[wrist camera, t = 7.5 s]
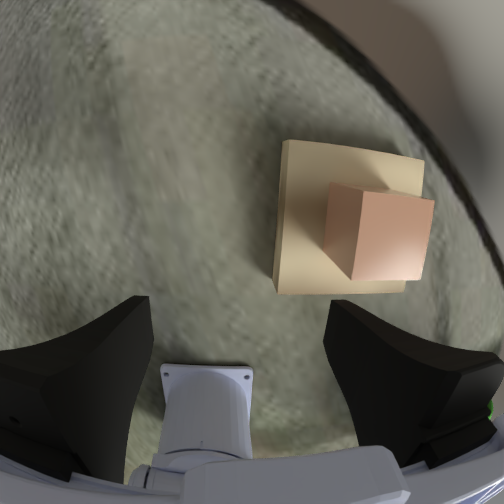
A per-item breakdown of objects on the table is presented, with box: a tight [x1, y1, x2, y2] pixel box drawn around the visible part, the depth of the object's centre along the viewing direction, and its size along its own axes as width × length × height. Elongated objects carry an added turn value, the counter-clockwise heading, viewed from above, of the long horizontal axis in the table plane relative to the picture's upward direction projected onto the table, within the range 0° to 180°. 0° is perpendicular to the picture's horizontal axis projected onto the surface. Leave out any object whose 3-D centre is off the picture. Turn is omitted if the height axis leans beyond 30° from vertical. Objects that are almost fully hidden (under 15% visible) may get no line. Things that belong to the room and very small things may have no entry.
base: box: [272, 139, 424, 294], centre depth 20 cm, size 10×10×2 cm
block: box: [323, 182, 435, 281], centre depth 16 cm, size 4×4×5 cm
